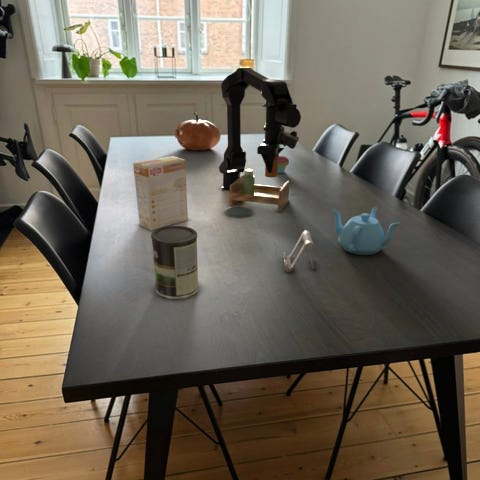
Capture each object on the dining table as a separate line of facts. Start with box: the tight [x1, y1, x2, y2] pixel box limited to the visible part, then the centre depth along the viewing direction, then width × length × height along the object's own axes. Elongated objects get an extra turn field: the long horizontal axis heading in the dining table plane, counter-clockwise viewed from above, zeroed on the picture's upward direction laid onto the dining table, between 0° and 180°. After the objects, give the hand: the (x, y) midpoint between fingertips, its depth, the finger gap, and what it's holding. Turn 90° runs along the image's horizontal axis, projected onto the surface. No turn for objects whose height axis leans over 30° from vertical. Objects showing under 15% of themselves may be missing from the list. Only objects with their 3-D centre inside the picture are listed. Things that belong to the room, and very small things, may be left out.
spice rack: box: [229, 175, 291, 213], centre depth 167 cm, size 19×14×8 cm
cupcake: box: [278, 155, 290, 174], centre depth 206 cm, size 9×8×12 cm
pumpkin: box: [174, 111, 222, 152], centre depth 245 cm, size 25×25×19 cm
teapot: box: [331, 206, 402, 256], centre depth 132 cm, size 15×15×10 cm
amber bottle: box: [264, 156, 279, 179], centre depth 159 cm, size 4×4×8 cm
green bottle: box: [242, 168, 256, 194], centre depth 166 cm, size 4×4×8 cm
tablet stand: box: [282, 230, 315, 273], centre depth 121 cm, size 9×8×8 cm
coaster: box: [225, 206, 253, 218], centre depth 159 cm, size 9×9×1 cm
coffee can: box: [150, 225, 199, 300], centre depth 106 cm, size 10×10×14 cm
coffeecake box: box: [132, 155, 189, 231], centre depth 144 cm, size 15×7×20 cm, turn 134°
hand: (271, 171), depth 160 cm, fingers closed on amber bottle, 4 cm apart
